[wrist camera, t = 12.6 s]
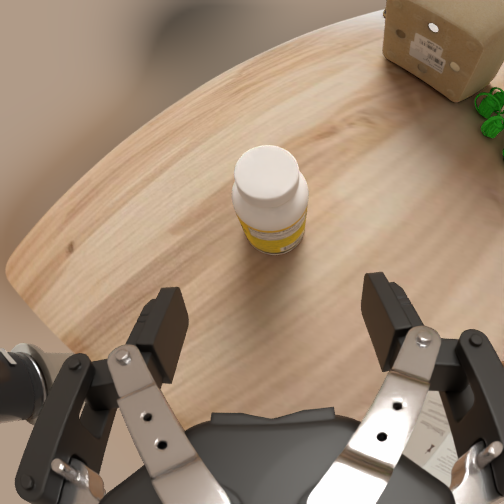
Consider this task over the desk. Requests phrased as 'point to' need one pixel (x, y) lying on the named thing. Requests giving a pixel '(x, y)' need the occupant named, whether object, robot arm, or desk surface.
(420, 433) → the cosmetic box
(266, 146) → the supplement bottle
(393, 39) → the flower pot
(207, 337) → the desk surface
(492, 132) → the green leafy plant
